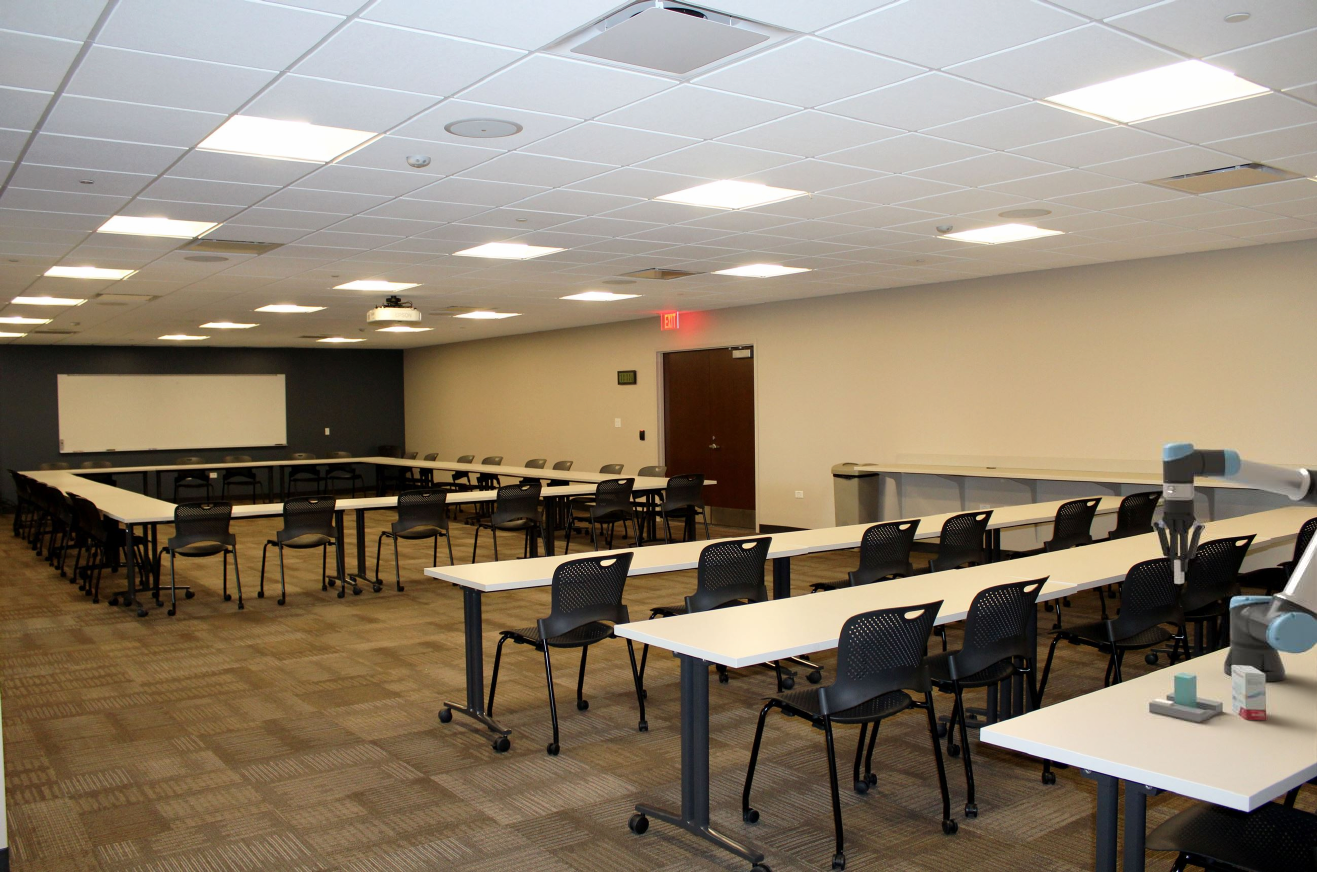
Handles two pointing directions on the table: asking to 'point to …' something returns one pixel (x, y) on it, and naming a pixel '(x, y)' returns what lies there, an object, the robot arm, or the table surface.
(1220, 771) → the table surface
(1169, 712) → the socket
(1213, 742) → the table surface
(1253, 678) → the ink box
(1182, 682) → the plug
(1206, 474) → the robot arm
